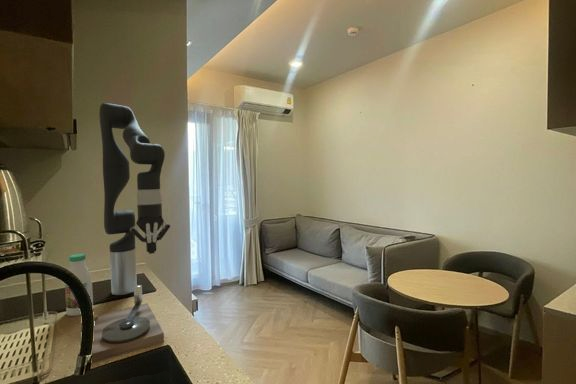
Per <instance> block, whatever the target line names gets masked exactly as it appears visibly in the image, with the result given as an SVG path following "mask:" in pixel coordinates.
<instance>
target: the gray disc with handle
mask: <svg viewBox="0 0 576 384" xmlns="http://www.w3.org/2000/svg"><path fill="white" fill-rule="evenodd" d="M133 298H134V299H133V300H134V301H133V303H134V305H133V306H134V307H133V306H132V307H133V309H132V310H131V312H130V314H129V316H128V317H127V318H124V319H121V320H118V321H115V322H113V323H111V324H109V325H107V326H106V327H105V328H104V329H103V331H102V339H103V341H105V342H107V343H124V342H128V341H132V340H135V339H137V338H139V337H141V336H143V335H144V334H146V333H147V332H148V331H149V329H150V321H149V319H147V318H145V317H135V315H136V313H137V312H138V310H139V308H140V306H141V305H142V304H143V285H142V284H137V285H136V286H134V292H133Z"/></svg>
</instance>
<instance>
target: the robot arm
mask: <svg viewBox="0 0 576 384" xmlns="http://www.w3.org/2000/svg"><path fill="white" fill-rule="evenodd" d="M98 117H99V125H100V134H101V143H102V176H103V177H102V178H103V191H104V195H103V196H104V201H103V203H104V204H103V205H104V208H103V210H104V211H103V226H104V232H105V234H107V235H109V236H110V235H120V234H124V235H123V237H121V238H119V239H118V240H115V241H113V242H112V243H110V244H109V262H110V263H109V264H110V266H109V267H110V285H111V286H110V289H111V295H114V296H123V295H124V296H125V295H128V294H131V293H134V286H136V285H138V283H137V282H138V280H137V278H138V277H137V255H136V253H137V252H136V238H137V239H138V240H139V241H140V242H142V243H145V244H146V248H145V249H146V252H147V253H148V254H150V255H152V254H155V253H156V252H157V242H158V241H161V240H162V239H163V238H164V237H165V235H166V234H167V232H168V231H169V229H170V228H171V225H170V224H168V223H167V222H165V221H164V218H163V207H162V205H163V203H162V201H163V199H162V193H161V192H162V191H161V174H162V169H163V165H164V162H165V156H166V155H165V154H166V153H165V150H164V148H163V146H161V144H158V143H151V141H150V139H149V137H148V136H147V135H146V134H145V133H144V132H143V130H142V129H141V127H140V125H139V123H138V120H137V118H136V116H135V114H134V112H133V110H132V109H131V108H130V107H129V106H127V105H121V104H114V103H108V102H102V103H101V105H100V107H99V115H98ZM113 129H119V130H122V131H123V132H122V138H123V140H124V143H126V145H127V146H128V148H129V157H130V160H131V161H132V162H133V163H135V164H137V165H151V166H150V169H148V170H145V171H141V172H138V173H137V176H136V183H137V185H136V186H137V187H136V188H137V194H136V203H137V206H136V207H137V209H136V210H137V220H136V215H135V212H134V211H133V210H132V209H127V210H125V209H124V210H115V207H116V202H117V199H118V198H119V196H120V195H121V193H122V192H123V191H124V189H125V188H126V186H127V184H128V183H129V181H130V178H131V177H130V162H129V159H128V157H127V155H126V154H125V152H124V151H123V150H122V148H121V147H120V146H119V144H118V143H117V141H116V139H115V136H114V133H113ZM160 229H161V230H160ZM140 230H141V231H142V232H143V233H144V234H143V235H144V236H142V234H141V233H139V231H140ZM159 230H160V231H159ZM158 231H159V232H158Z"/></svg>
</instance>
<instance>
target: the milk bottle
mask: <svg viewBox="0 0 576 384" xmlns="http://www.w3.org/2000/svg"><path fill="white" fill-rule="evenodd" d="M86 257H87V256H86V254H85V253H79V254H78V253H76V254H72V255H70V256H69V257H68V260H69V261H68V262H69V264H70V265H69V269H68V271H71V272H72V273H74V274H75V275H76V276H77V277H78V278H79V279H80V280H81V281H82V283H83V284H84V286H85V288H86V290H87V292H88V294H89V296H90V299H91V302H92V306H93V307H94V295H93V293H94V292H93V281H92V280H93V279H92V274H91V272H90V270H89V269H88V267H87V264H86ZM64 289H65V290H64V291H65V295H64V296H65V311H66V315H67V316H69V317H77V316H81V315H80V310H79V307H78V304H77V301H76V299H75V297H74V295H73V293H72V292H71V290H70V289H69V288H68V286H67V285H66V284H65V283H64Z"/></svg>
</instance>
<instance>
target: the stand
mask: <svg viewBox="0 0 576 384" xmlns="http://www.w3.org/2000/svg"><path fill="white" fill-rule="evenodd" d="M133 307H134V305H133V306H130V307H126V308H122V309H121V308H120V309H117V310H113V311H112V310H111V311H108V312H104V313H100V314H99V313H98V314H93V315H94V321H95V326H94V341H93V347H92V364H95V363H99V362H102V361H106V360H107V359H108V360H109V359H111V358H114V357H117V356H121V355H124V354H127V353H131V352H134V351H137V350H140V349H143V348H148V347H149V346H153V345H157V344H160V343H164V341H165V336H164V335H165V334H164V330H163V329H162V327H161V324H160V323H159V321H158V320H157V318H156V316H155V314H154V313H153V312H154V311H153V310H152V308H151V307H150V305H149V303H141V306H140V308H139V310H138V312H137V313H136V315H135V317H145V318H147V319H149V321H150V329H149V331H148V332H147V333H146V334H144V335H143V336H141V337H139V338H137V339H135V340H132V341H128V342H124V343H107V342H105V341H103V339H102V331H103V329H104V328H105V327H106V326H107V325H109V324H111V323H113V322H115V321H118V320H121V319H124V318H127V317H128V316H129V314H130V312H131V310H132V309H133Z"/></svg>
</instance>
